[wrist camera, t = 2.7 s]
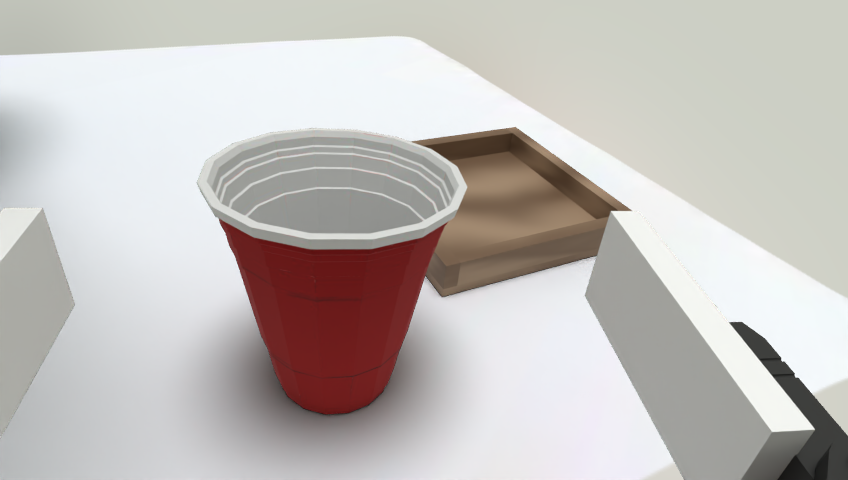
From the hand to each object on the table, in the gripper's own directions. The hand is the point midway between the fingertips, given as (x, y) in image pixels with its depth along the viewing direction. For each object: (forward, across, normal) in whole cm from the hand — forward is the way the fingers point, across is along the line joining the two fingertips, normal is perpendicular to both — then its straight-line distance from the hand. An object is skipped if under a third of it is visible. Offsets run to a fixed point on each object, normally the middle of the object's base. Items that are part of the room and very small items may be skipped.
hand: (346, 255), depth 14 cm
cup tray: (+26, +11, -15) cm, 32 cm away
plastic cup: (+10, 0, -15) cm, 18 cm away
